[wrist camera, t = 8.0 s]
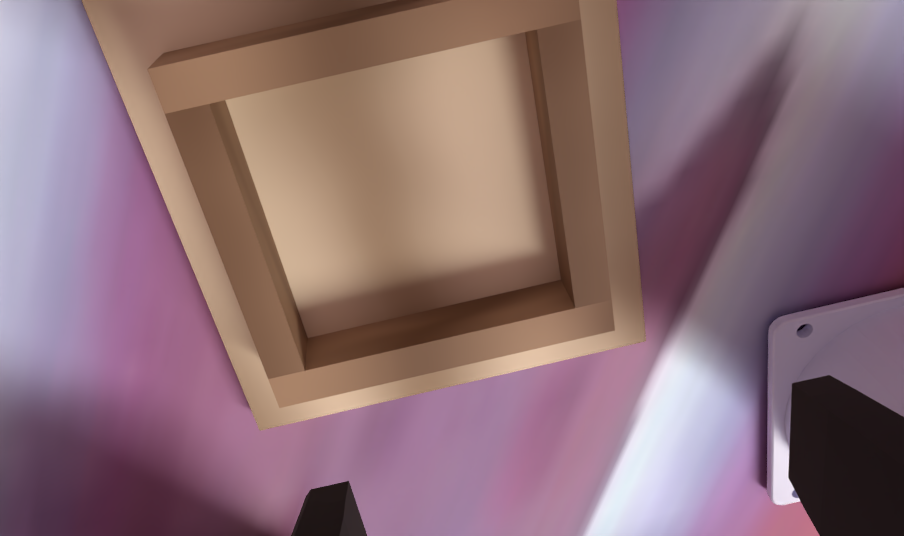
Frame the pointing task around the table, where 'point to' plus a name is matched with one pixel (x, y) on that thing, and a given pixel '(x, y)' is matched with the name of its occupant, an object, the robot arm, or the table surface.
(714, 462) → the table surface
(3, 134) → the table surface
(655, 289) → the table surface
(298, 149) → the jug board
